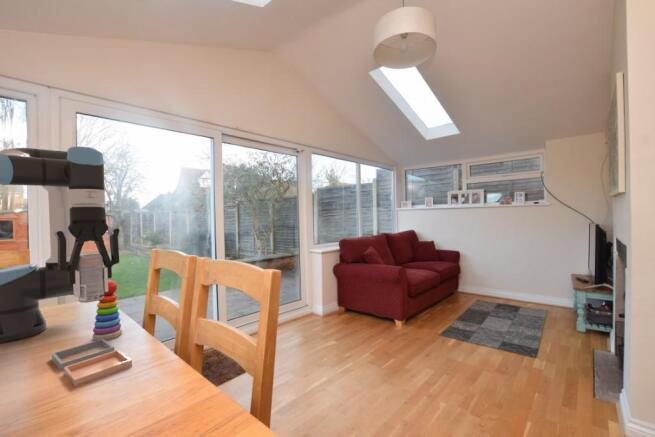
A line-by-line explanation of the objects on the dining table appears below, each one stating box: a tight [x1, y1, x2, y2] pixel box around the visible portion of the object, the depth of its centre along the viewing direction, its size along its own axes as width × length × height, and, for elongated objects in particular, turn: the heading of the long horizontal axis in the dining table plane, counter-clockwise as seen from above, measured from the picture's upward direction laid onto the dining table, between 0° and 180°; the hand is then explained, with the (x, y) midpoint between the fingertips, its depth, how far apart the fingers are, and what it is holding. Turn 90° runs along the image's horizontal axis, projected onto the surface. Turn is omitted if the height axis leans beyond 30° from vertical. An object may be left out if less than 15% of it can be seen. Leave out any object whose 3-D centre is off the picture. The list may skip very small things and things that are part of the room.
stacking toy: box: [92, 279, 123, 341], centre depth 100 cm, size 8×8×19 cm
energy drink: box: [77, 253, 104, 304], centre depth 80 cm, size 5×5×12 cm
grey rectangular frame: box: [51, 339, 115, 371], centre depth 86 cm, size 10×12×2 cm
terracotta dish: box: [63, 349, 133, 388], centre depth 78 cm, size 10×12×2 cm
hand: (91, 293), depth 80 cm, fingers closed on energy drink, 5 cm apart
